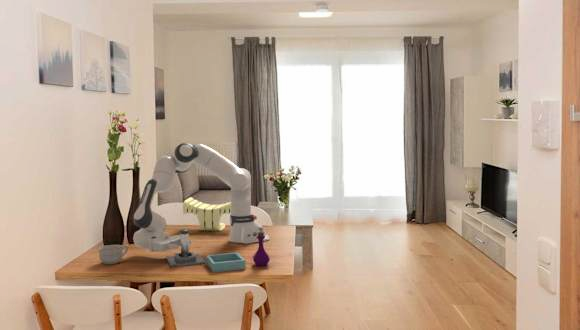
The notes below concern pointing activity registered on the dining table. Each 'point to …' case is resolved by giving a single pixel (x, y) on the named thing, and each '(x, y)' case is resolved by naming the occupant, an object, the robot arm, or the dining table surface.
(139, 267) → the dining table surface
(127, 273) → the dining table surface
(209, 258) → the tray
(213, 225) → the slatted curved stool
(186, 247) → the lock pin
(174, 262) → the tensioner plate
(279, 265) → the dining table surface
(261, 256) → the perfume bottle
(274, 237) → the dining table surface
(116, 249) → the teacup
